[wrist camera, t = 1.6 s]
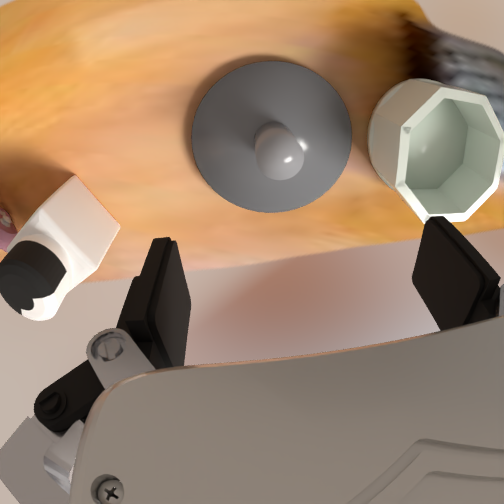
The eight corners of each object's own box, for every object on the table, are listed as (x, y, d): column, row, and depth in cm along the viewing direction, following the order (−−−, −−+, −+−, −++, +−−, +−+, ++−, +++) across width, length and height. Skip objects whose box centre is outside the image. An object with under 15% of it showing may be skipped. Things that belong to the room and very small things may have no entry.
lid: (347, 61, 22) (375, 64, 17) (344, 202, 29) (365, 235, 24) (184, 69, 22) (168, 72, 17) (204, 212, 30) (197, 248, 25)
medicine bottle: (38, 212, 28) (-24, 284, 18) (75, 172, 26) (5, 241, 16) (81, 258, 32) (36, 341, 22) (122, 225, 30) (76, 312, 20)
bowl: (472, 87, 22) (512, 101, 17) (458, 193, 28) (490, 221, 24) (368, 72, 22) (400, 78, 17) (362, 195, 29) (387, 227, 24)
